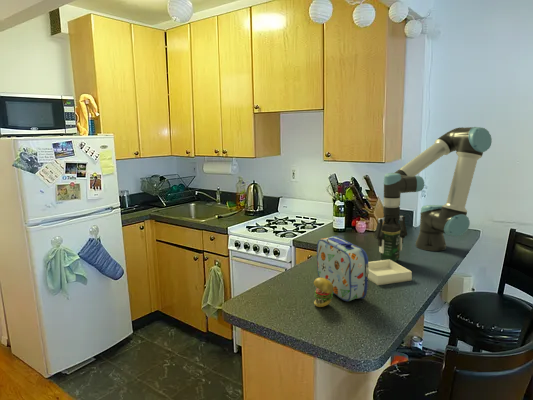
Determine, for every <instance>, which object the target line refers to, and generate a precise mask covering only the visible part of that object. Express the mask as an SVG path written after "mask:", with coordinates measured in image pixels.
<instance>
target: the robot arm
mask: <svg viewBox="0 0 533 400" xmlns="http://www.w3.org/2000/svg"><path fill="white" fill-rule="evenodd" d="M492 139H493V138H492V134H491V133H490V131H489V130H488V129H487V128H485V127H481V126H480V127H478V126H474V127H473V126H471V127H469V126H468V127H466V126H465V127H463V126H462V127H456V128H453V129H451V130H449V131H447V132H446V133H444V134H442V135H441V136H439V138H436V139H435V140H434V143H433V144H432V145H431V146H429V147H427V148H426V149H425V150H423V151H422V152H421V153H420V154H418V155H417V156H415V157H414V158H413V159H411V160H409V162H407V163H406V164H404V165H403V166H401V168H399V169H398V170H395V172H389V173H385V174H384V178H383V209H382V210H383V211H382V213H383V217H381V218H379V217H378V218H377V220H376V221H377V225H376V228H375V231H374V239H376V240H377V245H378V247H379V248H378V250H379V253H380V254H381V253H384V240H383V237H384V232H382V230H381V229H382V225H384V224H391V223H393V224H396V225H399V224H400V252H402V250H403V244H404V239H406V237H407V236H408V232H407V227H406V225H407V224H406V216H403V215H400V214H401V207H400V206H401V194H404V193H406V194H407V193H417V192H422V191H423V190H424V188H425V180H424V178H423V177H422V176H420V175H418V174H420V173H421V172H422V171H424V170H425V169H426V168H428V167H429V166H430V165H432V164H434V163H435V162H436V161H437V160H439V159H440V158H442V157H443V156H448V155H449V154H450V153H453V152H455V153H456V156H457V159H456V165H455V168H454V171H453V172H454V173H453V176H452V180H451V184H450V187H449V191H448V195H447V199H446V203H444V204H429V205H428V204H427V205H423V206H421V208H420V213H419V214H420V221H419V233H418V236H417V237H416V241H415V247H416V248H418V249H420V250H423V251H429V252H431V251H432V252H440V251H444V250H447V249H446V248H447V243H446V239H445V236H444V235H447V236H451V237H456V238H457V237H461V236H462V235H464V234H466V232H467V231H468V230H469V228H470V224H471V222H470V220H469V216H467V213H468V209H466V204H467V201H468V196H469V193H470V190H471V189H470V188H471V186H472V182H473V178H474V175H475V171H476V166H477V163H478V160H479V159H481V158H483V154H484V153H485V152H487V151H488V150H489V149H490V148H491V146H492V142H493V141H492Z"/></svg>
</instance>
